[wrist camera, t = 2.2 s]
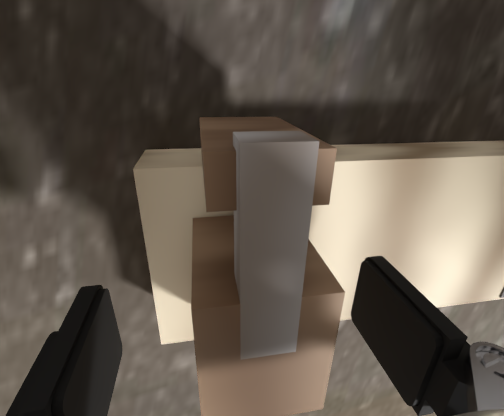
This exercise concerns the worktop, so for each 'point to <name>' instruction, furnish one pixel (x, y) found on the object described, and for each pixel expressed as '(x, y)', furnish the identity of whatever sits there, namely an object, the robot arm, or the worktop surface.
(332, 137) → the worktop surface
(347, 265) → the birch board
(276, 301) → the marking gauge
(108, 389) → the robot arm
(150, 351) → the worktop surface
